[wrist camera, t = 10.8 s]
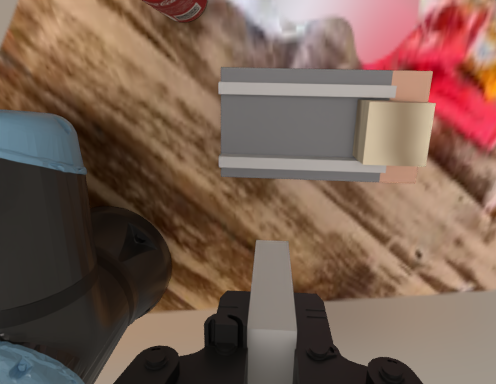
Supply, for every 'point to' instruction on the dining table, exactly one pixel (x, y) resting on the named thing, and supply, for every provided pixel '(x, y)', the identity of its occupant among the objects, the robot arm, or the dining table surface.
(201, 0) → the soda can
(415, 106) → the ash block
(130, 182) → the dining table surface
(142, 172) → the dining table surface
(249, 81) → the chute
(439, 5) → the dining table surface
